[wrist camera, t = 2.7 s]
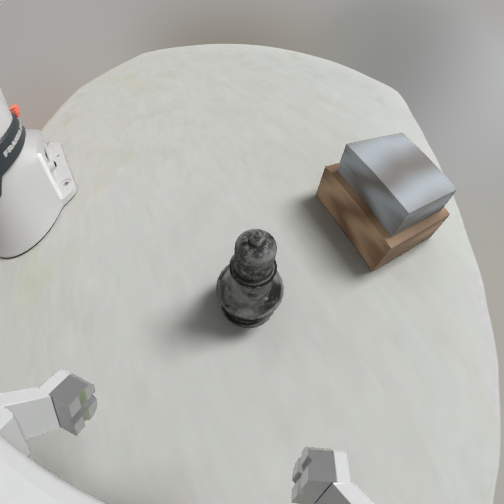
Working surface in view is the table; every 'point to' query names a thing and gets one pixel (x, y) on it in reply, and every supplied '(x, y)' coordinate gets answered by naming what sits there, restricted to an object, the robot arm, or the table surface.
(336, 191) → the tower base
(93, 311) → the table surface
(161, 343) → the table surface
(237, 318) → the salt shaker
